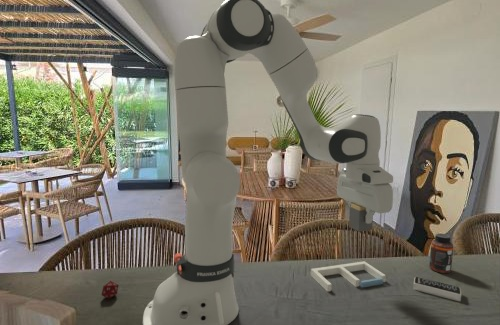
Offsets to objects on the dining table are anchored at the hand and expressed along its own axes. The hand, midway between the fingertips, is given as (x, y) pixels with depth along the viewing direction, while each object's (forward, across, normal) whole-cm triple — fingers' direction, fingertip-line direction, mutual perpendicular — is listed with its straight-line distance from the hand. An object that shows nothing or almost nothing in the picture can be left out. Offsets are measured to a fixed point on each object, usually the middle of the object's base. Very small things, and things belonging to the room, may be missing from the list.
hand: (360, 219), depth 87 cm
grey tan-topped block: (+3, 0, 0) cm, 3 cm away
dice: (+17, -10, -69) cm, 72 cm away
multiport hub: (+19, +12, +16) cm, 28 cm away
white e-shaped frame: (+18, -1, -3) cm, 19 cm away
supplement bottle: (+19, +2, +29) cm, 35 cm away
